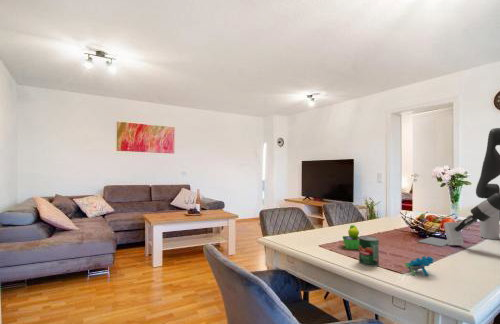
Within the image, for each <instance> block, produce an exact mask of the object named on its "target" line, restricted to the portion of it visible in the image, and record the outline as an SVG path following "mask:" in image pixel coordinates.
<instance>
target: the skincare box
mask: <svg viewBox="0 0 500 324" xmlns="http://www.w3.org/2000/svg"><path fill="white" fill-rule="evenodd" d="M459 225H460V222H454V221H453V222H452V221H451V222H449V221H448V222H444V223H443V227H444V231H445V235H446V240H447V241H448V245H447V246H464V245H465V241H464V238H463V235H462V230H460V231H458V232H457V231H456V230H455V228H456V227H457V226H459Z"/></svg>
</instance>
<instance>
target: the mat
mask: <svg viewBox="0 0 500 324" xmlns="http://www.w3.org/2000/svg"><path fill="white" fill-rule="evenodd" d="M417 243H421V244H426V245H431V246H434V247H435V246H436V247H438V248H439V247H440V248H442V247H445V246H449V245H448V241H447V239H443V238H437V237H433V236H430V237H426V238H424V239H420V240H417Z"/></svg>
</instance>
